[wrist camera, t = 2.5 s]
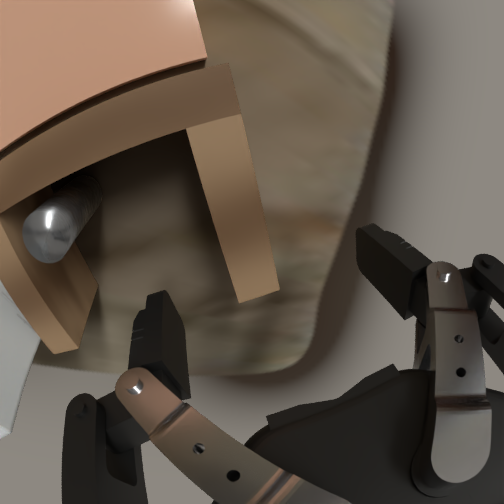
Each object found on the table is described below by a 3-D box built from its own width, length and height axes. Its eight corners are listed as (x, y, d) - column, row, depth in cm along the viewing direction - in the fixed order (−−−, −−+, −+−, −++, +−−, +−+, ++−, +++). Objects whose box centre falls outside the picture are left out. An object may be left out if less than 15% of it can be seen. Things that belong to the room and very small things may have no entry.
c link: (15, 163, 12) (-41, 193, 7) (211, 80, 13) (228, 62, 8) (76, 292, 17) (53, 354, 12) (250, 235, 18) (279, 289, 13)
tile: (-10, 159, 11) (-16, 162, 10) (-28, 3, 4) (-33, 1, 3) (206, 59, 13) (207, 57, 12) (166, -94, 5) (166, -99, 5)
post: (75, 219, 15) (38, 269, 10) (61, 184, 14) (14, 222, 9) (107, 205, 15) (77, 253, 10) (93, 169, 14) (53, 201, 9)
